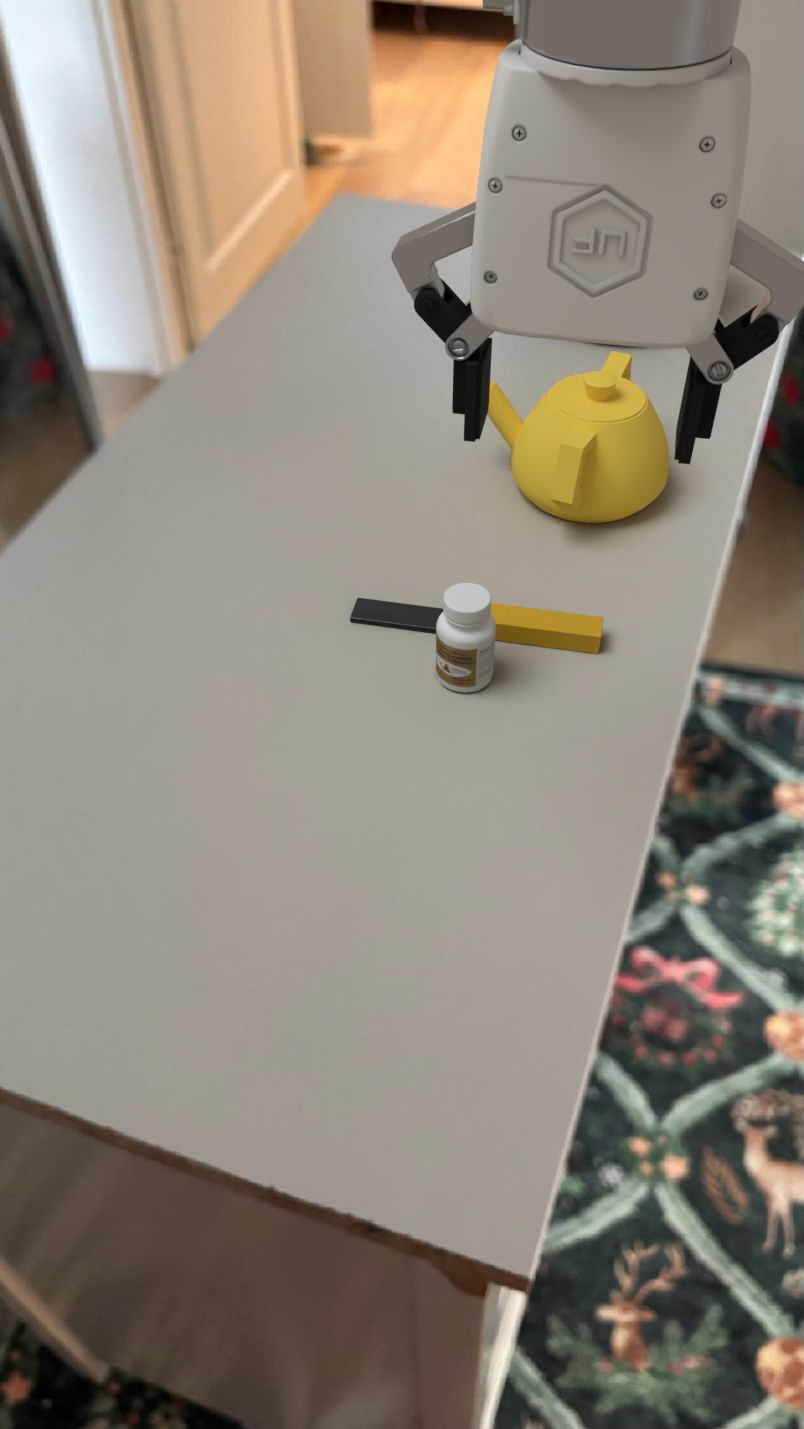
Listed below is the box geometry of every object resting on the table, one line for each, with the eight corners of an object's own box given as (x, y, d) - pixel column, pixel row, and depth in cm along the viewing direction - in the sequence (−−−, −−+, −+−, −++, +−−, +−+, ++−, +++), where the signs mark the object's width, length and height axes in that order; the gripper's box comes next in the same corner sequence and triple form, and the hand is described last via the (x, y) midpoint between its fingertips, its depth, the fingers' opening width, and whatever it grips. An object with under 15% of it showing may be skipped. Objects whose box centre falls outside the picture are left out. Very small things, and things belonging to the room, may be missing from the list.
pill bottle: (424, 678, 83) (424, 601, 77) (457, 647, 85) (459, 570, 80) (471, 703, 81) (475, 625, 75) (503, 670, 83) (509, 592, 78)
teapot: (503, 411, 110) (509, 307, 102) (683, 445, 105) (704, 338, 97) (437, 521, 97) (438, 411, 89) (639, 565, 92) (659, 452, 84)
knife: (600, 633, 86) (603, 616, 85) (598, 655, 84) (601, 637, 83) (357, 601, 89) (356, 584, 88) (350, 622, 87) (349, 605, 86)
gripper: (366, 28, 37) (379, 461, 49) (897, 52, 34) (770, 504, 46) (410, -25, 42) (412, 380, 54) (876, -7, 39) (766, 414, 52)
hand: (578, 437), depth 50 cm, fingers open, 9 cm apart
